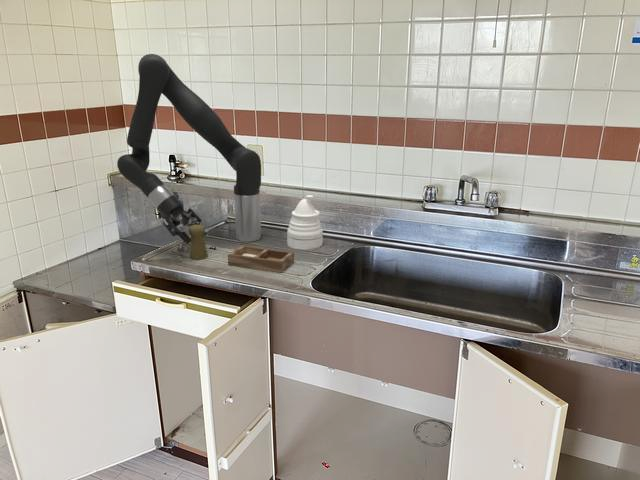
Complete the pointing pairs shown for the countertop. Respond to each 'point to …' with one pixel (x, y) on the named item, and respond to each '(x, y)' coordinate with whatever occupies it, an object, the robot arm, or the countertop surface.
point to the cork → (197, 243)
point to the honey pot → (305, 227)
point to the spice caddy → (261, 258)
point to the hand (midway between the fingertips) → (197, 238)
